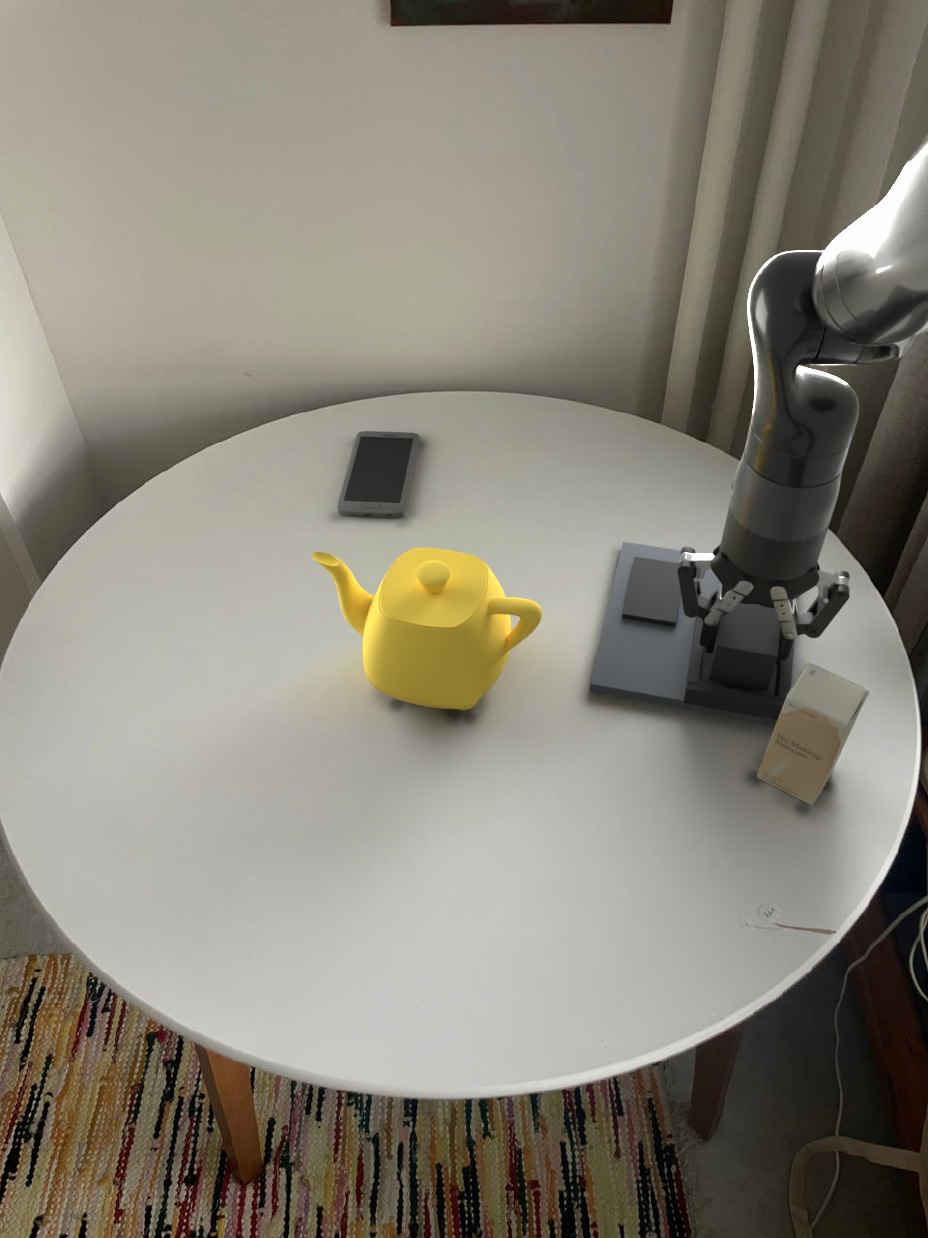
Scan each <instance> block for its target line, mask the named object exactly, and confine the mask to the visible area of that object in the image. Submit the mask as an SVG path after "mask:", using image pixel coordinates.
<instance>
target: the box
mask: <svg viewBox="0 0 928 1238" xmlns="http://www.w3.org/2000/svg"><path fill="white" fill-rule="evenodd" d="M869 694H870V690H869V689H868V688H866V687H865V686H863V685H860V684H858V683H856V682H853V680H850V679H848V678H845V677H844V676H841V675H839V674H837V673H834V672H833V671H830V670H828V669H825V668H823V667H821V666H818V665H817V664H814V663H812V662H810V661H807V662H806V663H805V665H804V666H803V667H802V669H801V671H800V672H799V674H798V676H797V677H796V679H795V680H794V682H793V684H792V685H791V689H790V691H789V693H788V694H787V697H786V700H785V702H784V705H783V707H782V710H781V713H780V715H779V718H778V720H777V723H776V725H774V729H773V731H772V734H771V737H770V740H769V742H768V745H767V748H766V750H765V753H764V755H763V758H762V760H761V763H760V765H759V769H758V772H757V773H756V777H757V778H758V779H759V780H761V781H763V782H765V783H766V784H769V785H771V786H772V787H775V788H776V789H778V790H780V791H782V792H784V793H786V794H787V795H790V796H791V797H793V798H795V799H797V800H799V801H801V802H803V803H805V804H807V805H809V806H813V805H814V804H815V802H817V799H818V798H819V796H820V795H821V793H822V792H823V789H824V788H825V786H826V784H827V782H828V780H829V779H830V777H831V775H832V773H833V770H834V768H835V767H836V765H837V762H838V759H839V758H840V755H841V754H842V751H843V749H844V747H845V744H846V743H847V740H848V738H849V736H850V734H851V732H852V731H853V730H852V729H853V728H854V725H855V724H856V721H857V719H858V717H859V715H860V712H861V710H862V708H863V706H864V704H865V702H866V700H867V698H868V696H869Z"/></svg>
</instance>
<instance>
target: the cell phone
mask: <svg viewBox="0 0 928 1238" xmlns="http://www.w3.org/2000/svg"><path fill="white" fill-rule="evenodd" d="M420 436H421V435H419V433H416V432H405V431H404V432H402V431H400V432H399V431H377V430H375V431H374V430H362V431H359V432H358V433H356V436H355V438H354V442H353V445H352V449H351V452H350V455H349V460H348V463H347V468H346V471H345V475H344V479H343V482H342V485H341V489H340V494H339V496H338V501H337V513H338V514H339V515H342V516H354V517H356V516H357V517H376V518H377V517H378V518H379V517H380V518H402V517H405V515H406V512H407V509H408V504H409V500H410V499H409V498H410V494H411V489H412V485H413V484H412V483H413V479H414V474H415V468H416V465H417V459H418V454H419V449H420V444H421V437H420Z"/></svg>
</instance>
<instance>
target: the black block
mask: <svg viewBox="0 0 928 1238" xmlns="http://www.w3.org/2000/svg"><path fill="white" fill-rule="evenodd" d="M779 638H780V623H779V622H778V620H777V616H776V612H775V609H773V608H767V607H764V606H761V605H758V604H743V603H739V604H738V605H737V606H736V607H735V609H734V610H733V611H732V612H731V613H730V614H726V615H725V617H724V618H723V619H722V620H721V621H720V622H719V629H718V633H717V637H716V642H715V646H714V650H713V654H712V658H711V666H710V673H709V680H710V681H716V682H722V683H727V684H733V685H738V686H744V687H749V688H755V689H761V690H766V691H768V688H769V685H770V682H771V678H772V675H773V672H774V668H775V665H776V662H777V659H778V651H779Z"/></svg>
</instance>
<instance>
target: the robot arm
mask: <svg viewBox="0 0 928 1238" xmlns="http://www.w3.org/2000/svg"><path fill="white" fill-rule="evenodd" d="M747 321H748V329H749V336H750V342H751V349H752V357H753V367H754V398H753V399H754V400H753V408H752V414H751V418H750V423H749V427H748V430H747V431H748V432H747V435H746V436H747V437H746V441H745V445H744V450H743V453H742V456H741V458H740V461H739V463H738V467H737V468H736V471H735V475H734V479H733V481H732V484H731V494H730V498H729V499H730V500H729V504H728V510H727V513H726V518H725V523H724V527H723V530H722V531H723V533H722V537H721V541H720V543H719V544H718V545H717V546H716V547H715V548H714V549H713V551H712V552H711V553H710V552H709V553H708V552H707V553H700V554H696V553H697V552H696V550H695V548H693V547H692V546H687V545H686V546H683V547H682V548H681V553H680V558H679V564H678V570H677V572H678V578H679V585H680V591H681V597H682V603H683V609H684V614H685V615H686V616H687V617H690V618H694V617H699V618H701V619H702V620H703V624H702V628H701V634H700V641H699V642H700V645H701V646H703V647H706V653H711V654H713V650H714V646H715V642H716V637H717V633H718V629H719V622H720V621H721V620H722V619H723V618H724V617H725V615H726V614H730V613H731V612H732V611H733V610H734V609H735V607H736V606H737V605H738V604H739V603H743V604H758V605H761V606H764V607H767V608H773V609H775V612H776V616H777V620H778V622H779V623H780V638H779V651H778V659H777V662H776V665H778V664H779V661H780V660H784V661H785V660H786V659H787V658H788V657H789V654H790V651H791V648H792V645H793V642H794V643H795V639H796V638H797V637H799V636H802V635H806V637H808V638H810V639H817V638H820V637H821V636H822V634H823V633H824V632H825V630H826V629H827V628H828V626H829V625H830V624H831V623H832V621H833V620H834V619H835V617H836V616H837V615H838V614H839V612H840V611H841V610H842V609H843V607H844V605H846V603H847V602H848V600H850V590H851V581H850V578H851V577H850V572H848V571H847V570H837V571H836V572H834V574H833V573H831V572H827V571H824V570H821V567H820V564H819V558H820V555H821V551H822V549H823V545H824V543H825V540H826V536H827V533H828V529H829V526H830V523H831V520H832V517H833V514H834V510H835V508H836V504H837V501H838V497H839V493H840V491H841V490H840V489H841V483H842V475H843V474H842V473H843V469H844V466H845V464H846V463H845V462H846V459H847V456H848V453H849V450H850V447H851V444H852V440H853V438H854V434H855V431H856V427H857V424H858V420H859V414H860V401H859V397H858V395H857V393H856V391H855V390H854V389H853V388H852V387H851V385H849V383H847V382H846V381H844V380H842V379H841V378H839V377H838V376H835V375H832V374H830V373H827V372H824V371H820V370H817V369H812V368H808V367H805V366H869V365H870V366H872V365H880V364H885V363H890V362H894V361H897V360H899V359H900V358H902V357H904V356H905V355H906V354H907V352H908V351H909V350H910V348H911V347H912V345H913V343H914V341H915V338H916V337H917V336H919V335H921V334H924V333H926V332H928V131H926V133H925V135H924V136H923V138H922V140H921V141H920V142H919V144H918V146H917V147H916V148H915V150H914V151H913V153H912V154H911V156H910V158H909V159H908V160H907V163H906V164H905V165H904V167H903V168H902V170H901V172H900V175H899V176H898V177H897V179H896V181H895V183H894V184H893V185H892V187H891V189H890V190H889V191H888V193H887V194H886V196H885V197H884V198H883V199H882V200H881V201H880V202H879V203H878V204H877V205H875V206H874V207H873V208H871V209H869V210H868V211H867V212H866V213H864V214H863V215H862V216H861V217H859V218H858V219H857V220H855V221H854V222H853V223H852V224H850V225H849V226H848V227H847V228H846V229H844V230H843V231H842V232H840V233H839V234H838V235H837V236H836V237H835V238H834V239H833V240H832V241H831V242H830V243H829V244H828V245H827V247H826V248H825V249H824V250H790V251H784V252H780V253H779V254H775V255H774V256H773V257H771V258H769V259H768V260H767V261H766V262H765V263H764V264H763V265H762V267H761V268H760V269H759V270H758V272H757V273H756V275H755V277H754V278H753V281H752V282H751V285H750V288H749V292H748V297H747ZM709 569H712V571H713V573H714V574H715V575H716V577H717V578H718V580H719V581H720V582H719V584H718V587H717V588H716V590H715V591H714V592H713V593H712V594H711V596H710V597H709V598H708V597H706V596H703V595H701V586H700V580H699V579H702V578H703V577H704V575H705V572H706V571H707V570H709ZM815 587H817V588H818V590H817V597H816V598H815V600H814V601H813V602H812V603H811V605H810V606H809V608H808V609H807V610H806V611H804V612H799V610H798V605H797V598H799V597H800V596H802V595H803V594H805V593H807V592H809V591H810V590H811V589H813V588H815ZM793 646H794V645H793Z"/></svg>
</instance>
